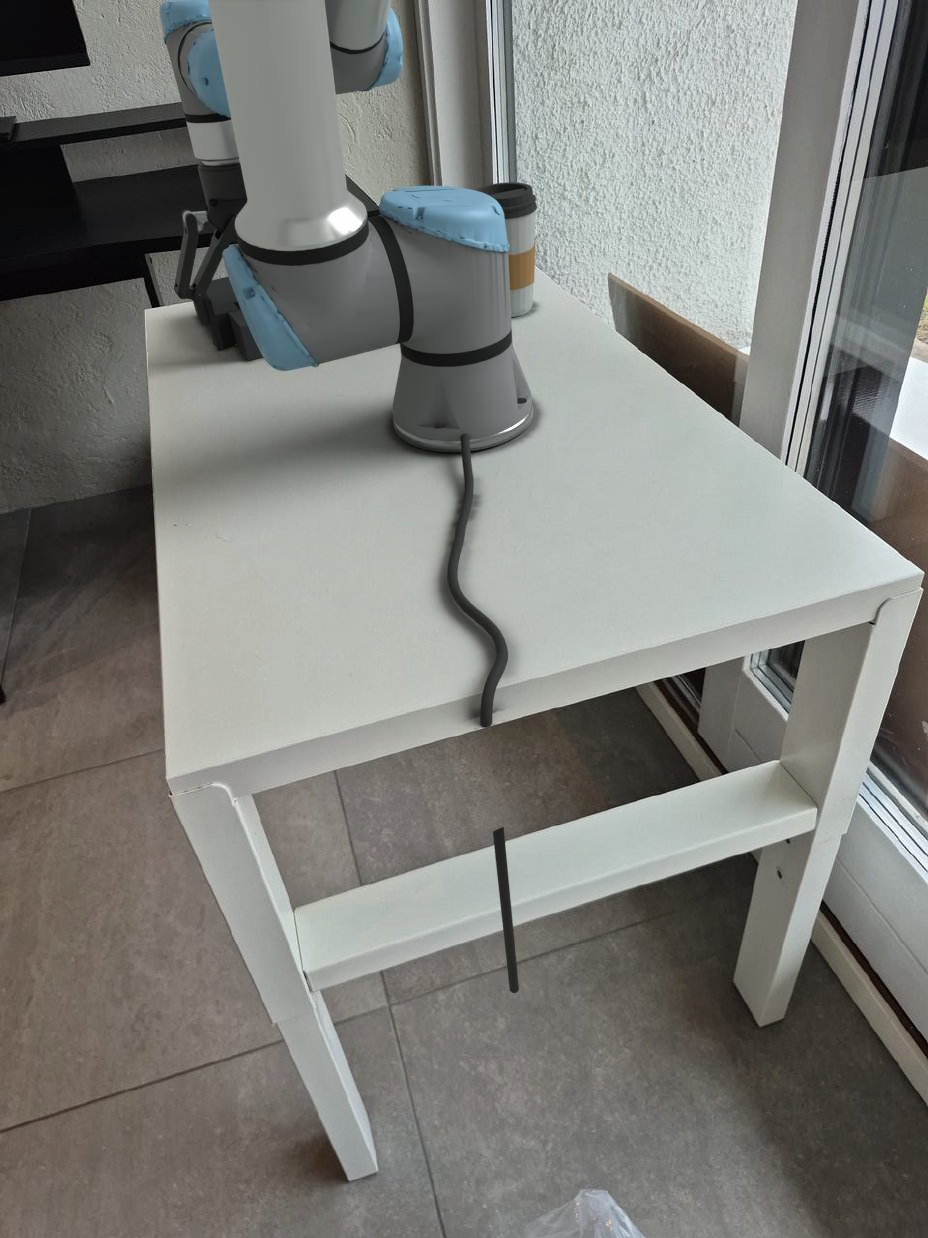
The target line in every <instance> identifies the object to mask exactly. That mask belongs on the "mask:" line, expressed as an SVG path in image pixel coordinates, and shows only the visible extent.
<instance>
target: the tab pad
mask: <svg viewBox="0 0 928 1238" xmlns="http://www.w3.org/2000/svg"><path fill="white" fill-rule="evenodd" d="M229 317H230V321H231V325H232V329H233V332H234V336H235V340H236V344H237V345H236V346H237V348H238V349H239V350H240V351H241V353H242V354H243V356H244V357H245V358H246V359H247V361H248V362H249V361H253V360H256V359H261V358H263V356H262V354H261V352H260V350H259V348H258V346H257V344H256V342H255V340H254V338H253V336H252V334H251V331H250V329H249V327H248V325H247V322H246V320H245V318H244V315H243V313H242V310H237V311H233V312H229Z"/></svg>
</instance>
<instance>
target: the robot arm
mask: <svg viewBox="0 0 928 1238" xmlns="http://www.w3.org/2000/svg"><path fill="white" fill-rule="evenodd" d="M391 4H392V0H165V1H164V2H163V3H161V5H160V7H159V10H158V11H159V19H160V23H161V28H162V33H163V37H162V39H163V42H164V43H163V44H164V45H165V46H166V48H167V52H168V56H169V60H170V63H171V69H172V71H173V75H174V79H175V83H176V86H177V87H176V88H177V90H178V93H179V94H178V95H179V99H180V102H181V105H182V108H183V113H184V119H185V122H186V126H187V130H188V135H189V139H190V143H191V146H192V147H191V148H192V151H193V155H194V158H195V159H197V160H198V161H199V163H198V166H197V172H198V176H199V179H200V182H201V183H200V184H201V187H202V191H203V195H204V199H205V210H200V211H199V210H198V211H191V210H189V209H184V210H182V211H181V219H182V225H183V234H182V240H181V245H180V252H179V258H178V262H177V268H176V274H175V279H174V285H173V291H174V293H175V294H176V296H177V297H178V298H179V299H180V300H191V301H192V304H193V306H194V310H195V315H196V317H197V320H198V321H199V323H200V325H202V327H204V326H205V325H209V329H210V332H209V333H210V337H211V340H212V343H213V345H214V346H213V347H215V349H216V350H217V352H221V351H225V348H224V347H223V343H222V339H221V335H220V332H219V328H218V324H217V320H216V317H215V313H214V309H213V306H212V302H211V299H210V298H209V296H208V295H207V294H206V292H207V289H208V287H209V285H210V283H211V281H212V280H214V277H215V274H216V272H217V270H218V268H219V266H220V263H221V262H222V260H223V262H224V267H225V271H226V274H227V277H229V280H230V283H231V285H232V288H233V290H234V293H235V296H236V298H237V301H238V303H239V306H240V308H241V310H242V313H243V315H244V318H245V320H246V322H247V325H248V327H249V329H250V331H251V334H252V336H253V338H254V340H255V342H256V344H257V346H258V348H259V350H260V352H261V354H262V356H263V357H262V358H263V359H264V361H265V362H266V363H267V364H268V366H270V367H271V368H273V369H274V370H275V371H279V372H289V371H293V370H298V369H303V368H309V367H313V368H318V367H320V365H322V364H326V363H329V362H333V361H337V360H341V359H345V358H349V357H354V356H357V355H361V354H365V353H368V352H372V351H376V350H381V349H384V348H385V349H386V348H388V347H392V346H396V345H399V349H400V362H399V363H400V364H399V370H398V374H397V379H396V385H395V390H394V395H393V401H392V412H391V413H392V422H393V428H394V432H395V434H396V435H397V436H398V437H399V438H400V439H401V440H402V441H404V442H405V443H407V444H409V445H411V446H413V447H416V448H419V449H422V450H426V451H431V452H439V453H440V452H441V453H461V462H462V472H463V481H464V482H463V483H464V488H463V497H462V503H461V508H460V511H459V514H458V519H457V523H456V527H455V533H454V538H453V543H452V547H451V550H450V554H449V557H448V561H447V562H448V563H447V568H446V569H447V570H446V579H447V586H448V589H449V592H450V594H451V596H452V599H453V600H454V602H455V603H456V605H457V606H458V607H459V608H460V609H461V610H462V612H463V613H465V614H466V615H467V616H468V617H469V618H471V619H472V620H473V621H474V622H475V623H476V624H478V625H479V626H480V627H481V628H482V629H483V630H484V631H485V632H486V633H487V634H488V635H489V637H490V638H491V640H492V642H493V645H494V647H495V653H496V654H495V655H496V656H495V657H496V658H495V661H494V664H493V666H492V668H491V670H490V672H489V674H488V676H487V678H486V681H485V683H484V686H483V690H482V692H481V693H482V694H481V698H480V710H479V711H480V712H479V723H480V726H481V727H482V728H485V729H488V728H490V727H492V725H493V712H494V711H493V708H494V698H495V694H496V690H497V687H498V685H499V682H500V681H501V678H502V676H503V674H504V673H505V670H506V668H507V665H508V662H509V661H508V660H509V649H508V648H509V647H508V645H507V642H506V639H505V637H504V635H503V633H502V632H501V630H500V628H499V627H498V625H496V623H494V622H493V620H491V619H490V618H489V617H488V616H487V615H486V614H485V613H483V612H482V611H481V610H480V609H478V607H476V606H475V605H474V604H473V603H471V601H470V600H469V599H468V598H467V597H466V596H465V595H464V593H463V592H462V589H461V587H460V583H459V576H458V575H459V574H458V573H459V572H458V570H459V563H460V558H461V554H462V551H463V546H464V542H465V536H466V530H467V524H468V520H469V516H470V512H471V509H472V504H473V498H474V487H475V485H474V484H475V483H474V473H473V465H472V464H473V463H472V454H471V452H473V451H474V452H475V451H479V450H480V451H481V450H484V449H488V448H492V447H495V446H499V445H501V444H504V443H506V442H508V441H511V440H512V439H514V438H516V437H517V436H519V435H521V434H522V433H523V432H524V431H525V430H526V429H528V427H529V426H530V424H531V423H532V421H533V418H534V401H533V396H532V392H531V388H530V386H529V383H528V381H527V379H526V375H525V373H524V370H523V369H522V366H521V363H520V360H519V358H518V355H517V353H516V351H515V348H514V343H513V327H512V317H511V302H510V281H509V259H508V251H509V244H508V241H507V234H506V227H505V217H504V212H503V210H502V207H501V206H500V204H499V203H498V202H497V201H496V200H495V199H494V198H492V197H491V196H489V195H487V194H484V193H482V192H479V191H476V189H475V190H474V189H471V188H465V187H458V186H450V185H449V186H448V185H415V186H414V185H413V186H405V187H398V188H394V189H393V190H391V191H386V192H384V193H383V194H382V195H381V197H380V200H379V201H380V202H379V205H378V210H379V213H380V214H378V215H375V216H370V217H368V215H369V214H368V212H367V208H366V205H365V204H364V203H363V202H362V201H361V200H360V199H359V198H357V197H356V196H355V195H354V194H353V193H351V192H350V191H349V190H348V185H347V177H346V170H345V160H344V152H343V151H344V150H343V143H342V135H341V127H340V117H339V110H338V109H339V108H338V101H337V96H338V95H342V94H348V93H349V94H350V93H356V92H369V91H371V90H373V89H375V88H380V87H384V86H387V85H391V84H393V83H395V82H396V81H397V80H398V79H399V77H400V75H401V73H402V70H403V66H404V59H403V52H404V44H403V43H404V42H403V36H402V31H401V27H400V24H399V20H398V18H397V15H396V13H395V11H394V9H392V7H391ZM205 223H209V224H210V225H211V226H212V227H213V228H214V229H215V230H214V232H213V235H212V237H211V239H210V240H211V241H210V244H209V246H208V248H207V250H206V253H205V255H204V257H203V259H202V261H201V264H200V266H199V267H198V270H197V271H196V275H195V276H194V279H193V281H191V280H192V275H193V270H194V265H195V259H196V254H197V249H198V244H199V233H201V232H202V231H203V230H204V225H205ZM231 243H232V244H231ZM191 282H192V283H191ZM190 285H191V286H190ZM205 327H206V326H205ZM492 839H493V847H494V857H495V866H496V876H497V877H496V878H497V883H498V886H497V887H498V894H499V895H498V896H499V904H500V913H501V921H502V922H501V923H502V931H503V940H504V941H503V942H504V950H505V958H506V959H505V960H506V967H507V977H508V978H507V979H508V987H509V992H511V993H512V994H516V993H518V992H519V991H520V985H519V975H518V974H519V973H518V964H517V963H518V962H517V954H516V941H515V933H514V932H515V931H514V922H513V921H514V920H513V911H512V900H511V889H510V878H509V870H508V867H509V866H508V859H507V858H508V857H507V847H506V846H507V845H506V835H505V826H501V827H499V828H497V829H495V830H493V831H492Z"/></svg>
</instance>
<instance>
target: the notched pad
mask: <svg viewBox="0 0 928 1238" xmlns="http://www.w3.org/2000/svg"><path fill="white" fill-rule="evenodd" d="M191 285H192V284H190V286H191ZM206 294H207V295H208V296H209V298H210V299H211V302H212V306H213V309H214V313H215V317H216V320H217V324H218V328H219V332H220V335H221V339H222V343H223V347H224V349H225V348H230V347H235V346H237V344H236V340H235V336H234V332H233V329H232V325H231V321H230V317H229V312H233V311H237V310H241V308H240V306H239V303H238V301H237V298H236V296H235V293H234V290H233V288H232V285H231V283H230V280H229V277H228V276H225V277H220V278H216V279H212V281H211V283H210V285H209V287H208V289H207V292H206ZM205 327H206V329H207V330H208V332H209V333H210V329H209V325H205Z"/></svg>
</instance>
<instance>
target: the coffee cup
mask: <svg viewBox="0 0 928 1238" xmlns="http://www.w3.org/2000/svg"><path fill="white" fill-rule="evenodd" d="M475 191H479V192H482V193H484V194H487V195H489V196H491V197H492V198H494V199H495V200H496V201H497V202H498V203H499V204H500V206H501V207H502V210H503V212H504V217H505V227H506V234H507V241H508V244H509V251H508V259H509V281H510V302H511V318H515V317H520V316H523V315H525V314H528V313H529V312H530V311H531V309H532V306H533V304H534V284H535V271H536V270H535V269H536V267H535V266H536V265H535V264H536V212H537V210H538V205H537V197H536V195H535V194H534V191H533V186H531V184H527V183H523V182H515V181H513V182H512V181H510V182H497V183H491V184H488V185H483V186H481V187H479V188H477V189H475Z"/></svg>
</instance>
